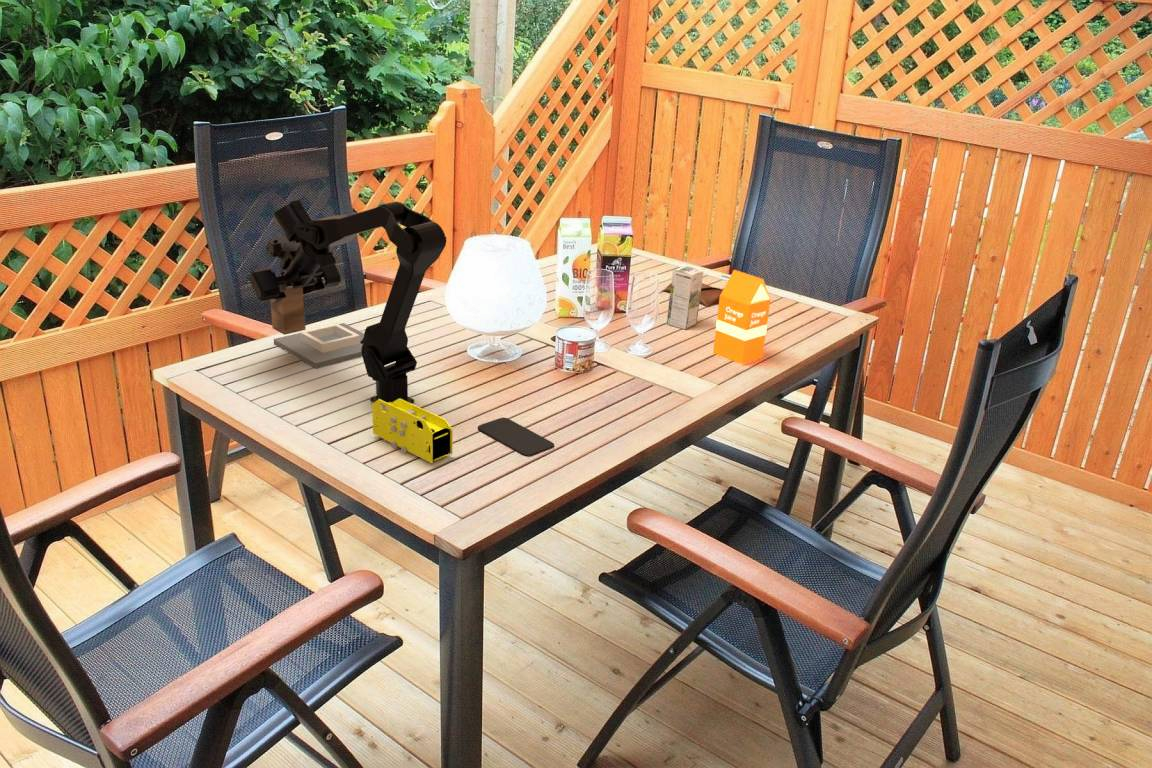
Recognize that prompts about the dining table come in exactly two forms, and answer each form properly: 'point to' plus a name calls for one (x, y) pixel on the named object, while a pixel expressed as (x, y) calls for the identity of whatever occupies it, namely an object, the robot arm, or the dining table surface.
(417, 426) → the yellow toy chassis
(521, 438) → the phone
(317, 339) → the socket plate
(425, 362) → the dining table surface
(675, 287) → the syrup box
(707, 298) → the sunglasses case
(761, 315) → the orange juice
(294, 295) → the walnut block
